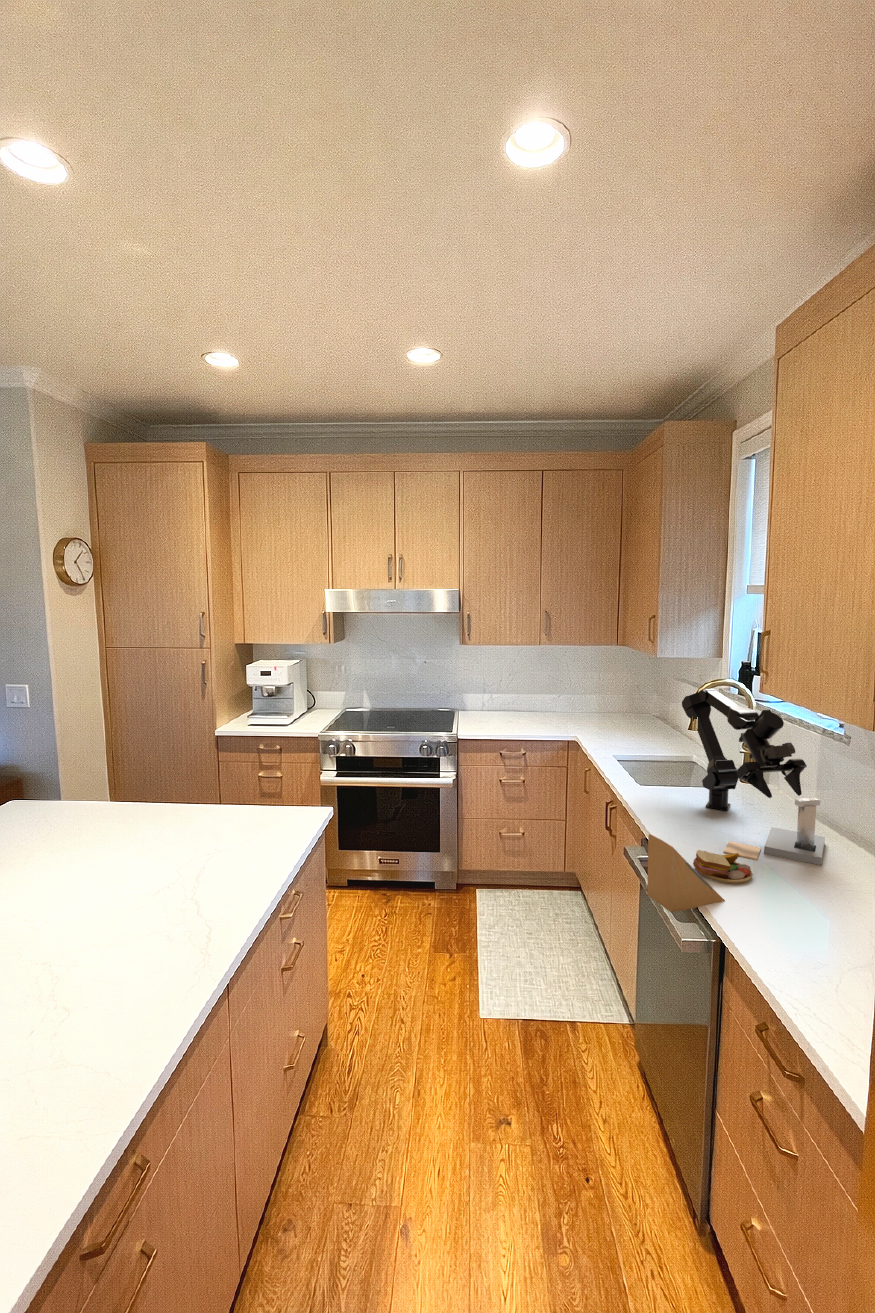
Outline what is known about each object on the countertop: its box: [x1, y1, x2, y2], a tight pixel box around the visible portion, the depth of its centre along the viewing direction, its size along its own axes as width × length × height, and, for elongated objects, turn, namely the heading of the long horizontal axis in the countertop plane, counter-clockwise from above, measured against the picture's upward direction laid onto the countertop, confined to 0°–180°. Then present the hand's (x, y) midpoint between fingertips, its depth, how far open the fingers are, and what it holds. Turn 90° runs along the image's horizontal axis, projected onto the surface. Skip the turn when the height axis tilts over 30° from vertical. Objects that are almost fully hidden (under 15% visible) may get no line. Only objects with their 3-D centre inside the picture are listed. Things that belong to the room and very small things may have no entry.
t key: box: [794, 797, 821, 852], centre depth 161 cm, size 4×6×15 cm, turn 100°
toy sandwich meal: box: [692, 849, 753, 885], centre depth 152 cm, size 12×14×5 cm
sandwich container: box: [646, 833, 726, 913], centre depth 139 cm, size 9×15×15 cm, turn 108°
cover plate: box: [763, 826, 826, 866], centre depth 166 cm, size 16×13×2 cm
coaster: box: [723, 840, 762, 861], centre depth 164 cm, size 8×8×1 cm
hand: (785, 796), depth 168 cm, fingers open, 9 cm apart
